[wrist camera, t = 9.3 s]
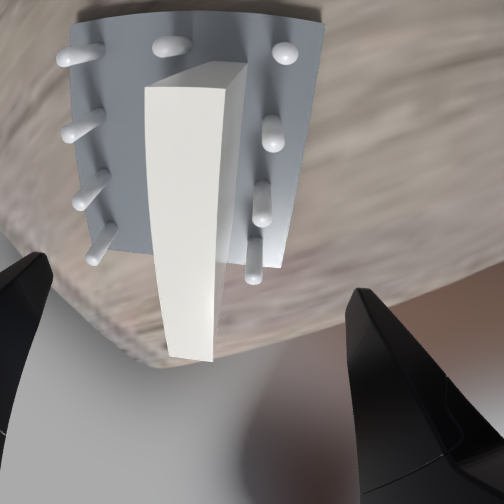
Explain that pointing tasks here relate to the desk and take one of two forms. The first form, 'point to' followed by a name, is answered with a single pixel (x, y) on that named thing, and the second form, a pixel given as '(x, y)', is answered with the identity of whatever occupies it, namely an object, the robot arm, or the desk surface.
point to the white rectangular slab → (193, 196)
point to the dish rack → (133, 120)
